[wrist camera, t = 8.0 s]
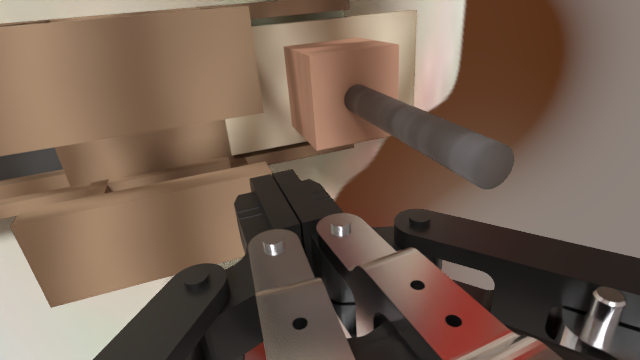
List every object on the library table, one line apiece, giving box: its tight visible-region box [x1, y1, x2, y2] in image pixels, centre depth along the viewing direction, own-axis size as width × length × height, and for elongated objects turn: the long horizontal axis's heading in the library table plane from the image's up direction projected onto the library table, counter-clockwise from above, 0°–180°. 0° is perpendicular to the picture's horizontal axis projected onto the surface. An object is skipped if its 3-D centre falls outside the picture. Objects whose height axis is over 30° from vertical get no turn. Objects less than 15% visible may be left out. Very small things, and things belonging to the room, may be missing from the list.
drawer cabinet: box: [0, 0, 354, 307], centre depth 23 cm, size 30×12×14 cm, turn 95°
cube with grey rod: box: [224, 10, 514, 189], centre depth 22 cm, size 16×9×19 cm, turn 95°
